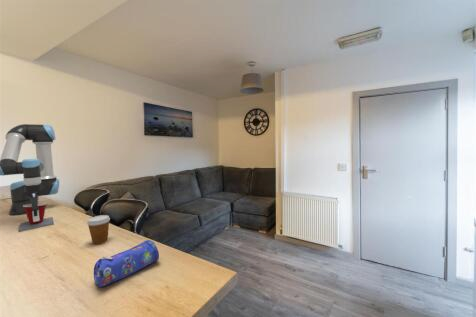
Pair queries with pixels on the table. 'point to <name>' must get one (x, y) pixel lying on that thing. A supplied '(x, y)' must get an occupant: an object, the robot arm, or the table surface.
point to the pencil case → (124, 263)
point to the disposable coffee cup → (99, 228)
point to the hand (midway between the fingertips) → (36, 218)
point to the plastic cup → (29, 213)
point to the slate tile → (28, 226)
